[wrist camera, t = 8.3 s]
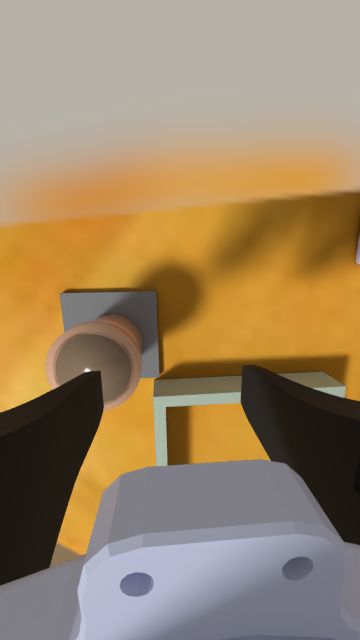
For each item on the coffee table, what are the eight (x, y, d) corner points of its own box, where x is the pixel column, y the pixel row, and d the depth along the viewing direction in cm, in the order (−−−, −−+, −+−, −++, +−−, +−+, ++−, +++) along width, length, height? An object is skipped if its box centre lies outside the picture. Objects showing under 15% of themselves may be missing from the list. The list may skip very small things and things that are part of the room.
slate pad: (156, 290, 20) (156, 291, 19) (159, 374, 22) (159, 377, 21) (62, 292, 19) (59, 293, 19) (73, 379, 21) (71, 381, 21)
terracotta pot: (157, 324, 20) (154, 346, 14) (132, 380, 21) (120, 423, 15) (94, 298, 19) (63, 309, 13) (71, 358, 20) (32, 393, 14)
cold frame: (322, 371, 23) (365, 398, 18) (304, 504, 27) (336, 556, 22) (154, 379, 22) (152, 411, 17) (160, 518, 26) (159, 576, 21)
